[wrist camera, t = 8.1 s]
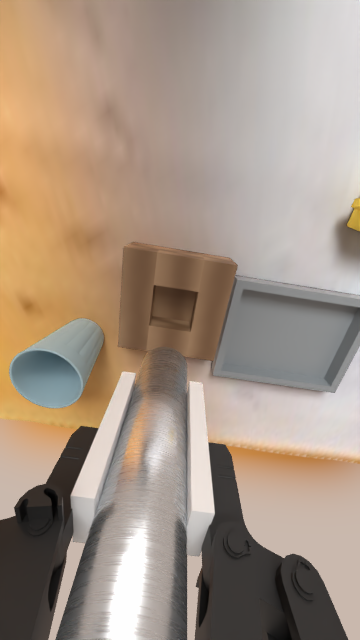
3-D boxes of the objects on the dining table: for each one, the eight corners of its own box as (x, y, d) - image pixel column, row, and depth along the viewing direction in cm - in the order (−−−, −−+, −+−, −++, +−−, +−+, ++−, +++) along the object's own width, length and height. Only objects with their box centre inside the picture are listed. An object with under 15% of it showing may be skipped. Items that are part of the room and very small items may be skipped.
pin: (140, 381, 17) (3, 855, 4) (144, 343, 16) (-30, 854, 3) (183, 387, 17) (172, 867, 5) (190, 350, 16) (204, 871, 3)
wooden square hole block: (127, 329, 34) (118, 346, 29) (133, 242, 29) (123, 246, 24) (210, 341, 34) (213, 360, 29) (229, 257, 29) (237, 265, 25)
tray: (211, 365, 36) (212, 375, 33) (233, 274, 30) (237, 279, 28) (325, 382, 36) (334, 393, 34) (368, 296, 31) (382, 302, 29)
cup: (47, 324, 34) (-8, 366, 24) (91, 301, 32) (51, 336, 23) (79, 364, 36) (41, 416, 27) (121, 344, 35) (97, 393, 25)
